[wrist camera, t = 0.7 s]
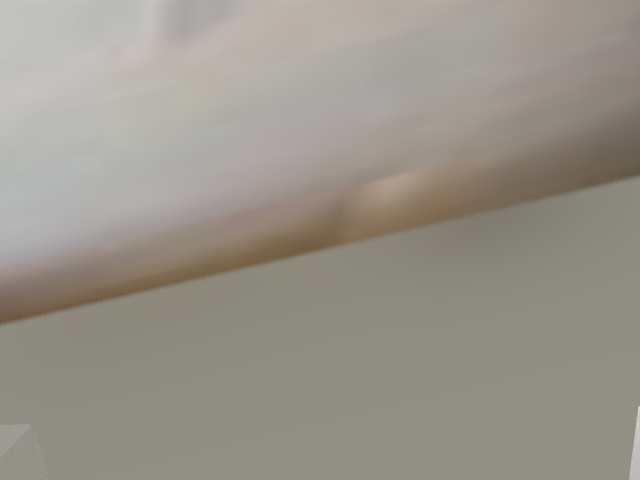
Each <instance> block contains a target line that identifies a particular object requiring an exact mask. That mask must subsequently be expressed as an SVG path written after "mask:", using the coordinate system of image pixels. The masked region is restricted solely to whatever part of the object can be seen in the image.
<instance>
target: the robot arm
mask: <svg viewBox="0 0 640 480" xmlns="http://www.w3.org/2000/svg"><path fill="white" fill-rule="evenodd" d="M0 480H48V478H47V474H46V471H45V467H44V463H43V460H42V456H41V453H40V449H39V446H38V442H37V438H36V435H35V431H34V428H33V425H32V424H31V425H0ZM629 480H640V406H639V408H638V416H637V424H636V431H635V439H634V446H633V454H632V462H631V469H630V477H629Z"/></svg>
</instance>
